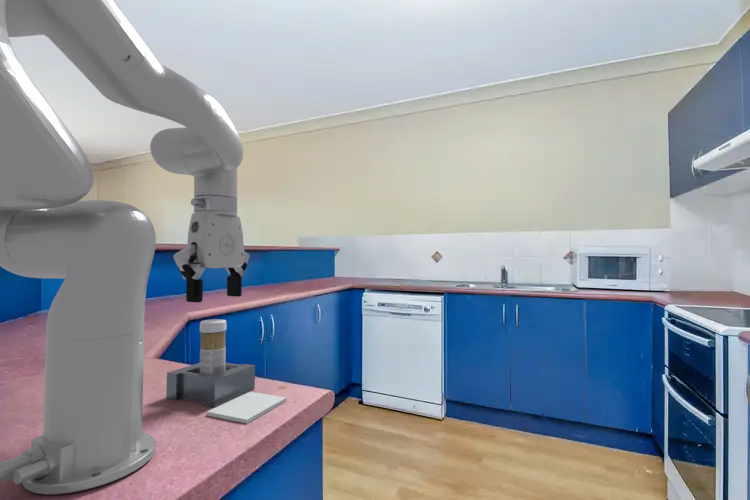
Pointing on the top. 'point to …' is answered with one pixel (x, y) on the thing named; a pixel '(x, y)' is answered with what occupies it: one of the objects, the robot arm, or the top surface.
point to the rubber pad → (246, 407)
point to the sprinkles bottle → (212, 346)
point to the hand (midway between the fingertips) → (215, 298)
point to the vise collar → (210, 384)
